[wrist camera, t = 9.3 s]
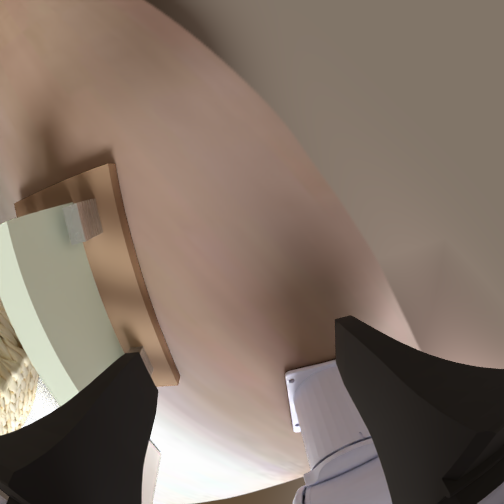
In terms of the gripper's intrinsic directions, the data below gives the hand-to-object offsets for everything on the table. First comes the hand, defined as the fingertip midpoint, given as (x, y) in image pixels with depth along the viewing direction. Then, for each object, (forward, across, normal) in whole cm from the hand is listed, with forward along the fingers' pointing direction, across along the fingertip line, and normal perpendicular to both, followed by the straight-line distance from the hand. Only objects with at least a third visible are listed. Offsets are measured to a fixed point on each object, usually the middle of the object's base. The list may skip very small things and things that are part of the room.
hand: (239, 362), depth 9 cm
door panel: (+9, +12, 0) cm, 15 cm away
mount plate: (+10, +12, 0) cm, 16 cm away
